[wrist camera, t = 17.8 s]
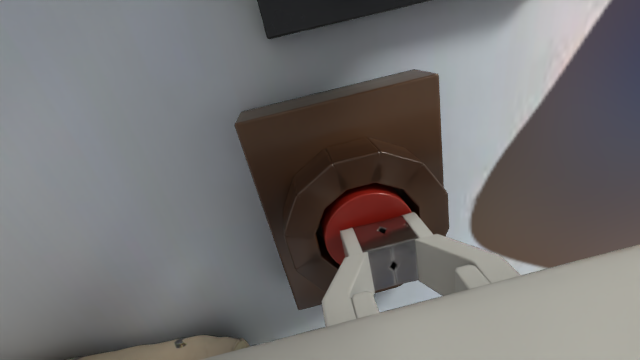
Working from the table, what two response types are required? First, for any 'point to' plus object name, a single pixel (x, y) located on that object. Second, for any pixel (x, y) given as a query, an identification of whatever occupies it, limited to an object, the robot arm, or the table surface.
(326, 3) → the bracket
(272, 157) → the control block
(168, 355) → the pencil case
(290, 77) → the table surface
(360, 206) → the button
